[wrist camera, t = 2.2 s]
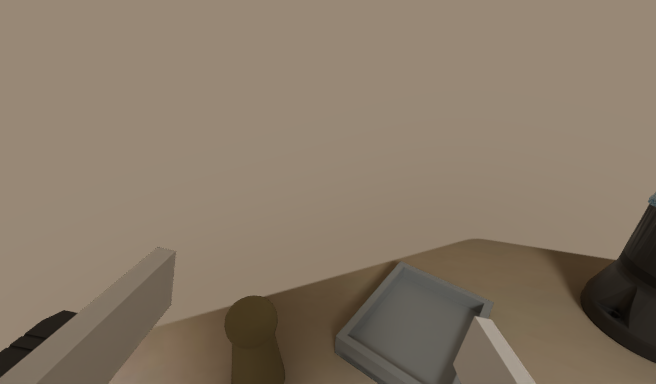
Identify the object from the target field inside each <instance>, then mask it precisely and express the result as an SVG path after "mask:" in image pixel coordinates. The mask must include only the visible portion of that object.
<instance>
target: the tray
mask: <svg viewBox="0 0 656 384" xmlns="http://www.w3.org/2000/svg"><path fill="white" fill-rule="evenodd" d="M493 304H494V302H492V301H489V300H487V299H485V298H483V297H480V296H478V295H476V294H474V293H471V292H469V291H467V290H465V289H462V288H460V287H458V286H456V285H453V284H451V283H449V282H447V281H444V280H442V279H440V278H437V277H435V276H433V275H431V274H428V273H426V272H424V271H422V270H419V269H417V268H415V267H413V266H410V265H408V264H406V263H404V262H401V261H400V263H399V264H398V265H397V266H396V267H395V268H394V269H393V271H392V272H391V273H390V274H389V275H388V276H387V278H386V279H385V280H384V281H383V282H382V283H381V284H380V286H379V287H378V288H377V289H376V290H375V291H374V293H373V294H372V295H371V296H370V297H369V298H368V299H367V301H366V302H365V303H364V304H363V305H362V306H361V308H360V309H359V310H358V311H357V312H356V313H355V314H354V316H353V317H352V318H351V319H350V320H349V321H348V323H347V324H346V325H345V326H344V327H343V328H342V329H341V331H340V332H339V333H338V334H337V335H336V339H335V353H336V354H337V355H339V356H340V357H342V358H343V359H344V360H346V361H347V362H349V363H350V364H352V365H353V366H354V367H356V368H357V369H359V370H360V371H361V372H363V373H364V374H366V375H367V376H369V377H370V378H371V379H373V380H374V381H376V382H377V383H378V384H461V382H460V380H459V377H458V375H457V373H456V370H455V368H454V366H453V363H454V361H455V358H456V356H457V354H458V352H459V350H460V347H461V345H462V343H463V341H464V339H465V336H466V334H467V332H468V330H469V328H470V325H471V323H472V321H473V319H474V316H477V317H481V318H486V319H488V317H489V315H490V312H491V309H492V306H493Z"/></svg>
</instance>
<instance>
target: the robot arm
mask: <svg viewBox="0 0 656 384" xmlns="http://www.w3.org/2000/svg"><path fill="white" fill-rule="evenodd" d="M648 202H649V203H650V204H649V206H648V208H647V209H646V211H645V213H644V215H643V216H642V218H641V220H640V222H639V223H638V225H637V227H636V228H635V230H634V232H633V234H632V235H631V237H630V239H629V241H628V242H627V244H626V246H625V248H624V249H623V251H622V253H621V255H620V256H619V258H618V259H617V260H616V261H614V262H613V263H612V264H610V265H609V266H608V267H606V268H605V269H603V270H602V271H601V272H599V273H598V274H597V275H595V276H594V277H593V278H591V279H590V280H589V281H588V282H587V284H586V286H585V288H584V289H583V291H582V293H581V297H580V298H581V304H582V306H583V308H584V310H585V312H586V313H587V315H588V316H589V317H590V318H591V320H592V321H593V322H594V323H595V324H596V325H597V326H598V327H599V328H600V329H601V330H603V331H604V332H605V333H606V334H607V335H609V336H610V337H611V338H613V339H614V340H615V341H617V342H618V343H620V344H621V345H623V346H625V347H626V348H628V349H630V350H631V351H633V352H635V353H637V354H638V355H640V356H642V357H644V358H646V359H649V360H651V361H653V362H655V363H656V192H655V194H654V195H652V196H651V197H650V198H649V201H648ZM175 255H176V251H174V250H169V249H164V248H160V247H157V248H156V249H155V250H154V251H152V252H151V253H150V254H149V255H148V256H146V257H145V258H144V259H143V260H142V261H140V262H139V263H138V264H137V265H136V266H134V267H133V268H132V269H131V270H129V271H128V272H127V273H126V274H125V275H123V277H121V278H120V279H119V280H118V281H116V282H115V283H114V284H113V285H111V286H110V287H109V288H108V289H107V290H105V291H104V292H103V293H102V294H101V295H99V296H98V297H97V298H96V299H95V300H93V301H92V302H91V303H90V304H89V305H87V306H86V307H85V308H84V309H82V310H81V311H80V312H79V313H74V312H70V311H65V310H64V311H61V312H59V313H57V314H55V315H53V316H51V317H49V318H46V319H44V320H42V321H41V322H40V323H38V324H37V325H36V326H34V327H33V328H32V329H30V330H29V331H28V332H26V333H25V335H24V336H23V337H22V336H21V337H20V338H18V339H17V340H16V341H15V342H13V343H12V344H10V346H9V347H8V348H5V349H4V350H2V351H1V352H0V384H108V383H109V381H110V380H111V379H112V378H113V376H114V375H115V374H116V373H117V372H118V370H119V369H120V368H121V367H122V365H123V364H124V363H125V362H126V360H127V359H128V358H129V357H130V355H131V354H132V353H133V352H134V350H135V349H136V348H137V347H138V345H139V344H140V343H141V342H142V340H143V339H144V338H145V337H146V335H147V334H148V333H149V332H150V330H151V329H152V328H153V327H154V325H155V324H156V323H157V322H158V320H159V319H160V318H161V317H162V316H163V314H164V313H165V312H166V310H167V309H168V308H169V307H170V305H171V298H172V287H173V277H174V266H175ZM453 366H454V368H455V370H456V373H457V375H458V377H459V380H460V382H461V384H536V383H535V382H534V380H533V379H532V377H531V376H530V374H529V373H528V372H527V370H526V369H525V367H524V366H523V364H522V363H521V361H520V360H519V359H518V357H517V356H516V354H515V353H514V351H513V350H512V349H511V347H510V346H509V344H508V343H507V341H506V340H505V338H504V337H503V336H502V334H501V333H500V331H499V330H498V328H497V327H496V326H495V324H494V323H493V321H492V320H491V319H486V318H481V317H477V316H474V319H473V321H472V323H471V325H470V328H469V330H468V332H467V334H466V336H465V339H464V341H463V343H462V345H461V347H460V350H459V352H458V354H457V356H456V358H455V361H454V363H453Z"/></svg>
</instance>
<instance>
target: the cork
mask: <svg viewBox="0 0 656 384" xmlns="http://www.w3.org/2000/svg"><path fill="white" fill-rule="evenodd" d="M224 327H225V331H226V334H227V337H228V339H229V340H230V341H231V342H232V379H231V384H284V380H285V370H284V366H283V363H282V359H281V355H280V352H279V348H278V345H277V341H276V337H275V334H274V333H275V330H276V327H277V312H276V309H275V307H274V305H273V304H272V303H271V302H270V301H269V300H267V299H266V298H264V297H261V296H248V297H245V298H242V299H240V300H238V301H237V302H235V303H234V304H233V305H232V306H231V308H230V309H229V311H228V313H227V315H226V318H225V326H224Z"/></svg>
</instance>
